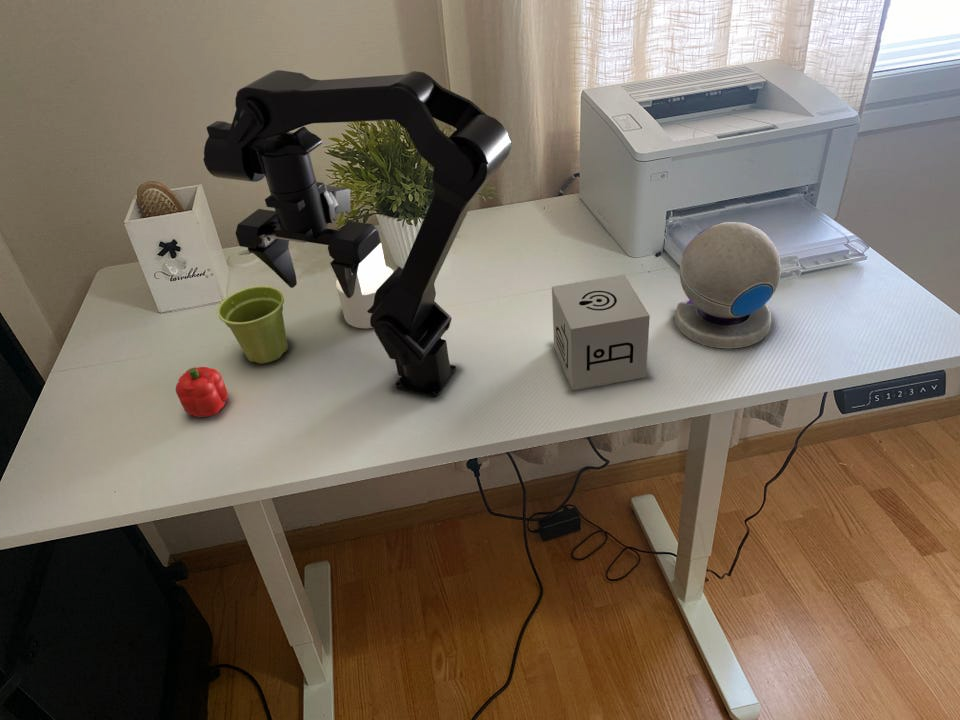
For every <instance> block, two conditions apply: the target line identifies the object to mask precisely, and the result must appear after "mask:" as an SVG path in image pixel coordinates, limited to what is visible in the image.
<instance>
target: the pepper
mask: <svg viewBox="0 0 960 720" xmlns="http://www.w3.org/2000/svg"><path fill="white" fill-rule="evenodd" d="M175 393H176V395H177V397H178V400H179V402H180V404H181V406H182V409H183V410H184V412H185V413H187V414H188V415H190V416H195V417H198V418H204V417H212V416H215V415H216V414H218V413H219V412H220V411H221V410H222V409H223V407H224V406H225V404H226V401H227V400H228V396H229V395H228V394H229V393H228V389H227V387H226V384H225V382H224V379H223V377H222V375H221V373H220V372H219V371H218V370H216V369H215V368H211V367H208V366H197V367H191V368H189V369H187V370H186V371H185V372H184V373H183V374H182V375H181V376H180V377H179V379H178V381H177V383H176V385H175Z"/></svg>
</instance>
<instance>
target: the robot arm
mask: <svg viewBox="0 0 960 720" xmlns="http://www.w3.org/2000/svg"><path fill="white" fill-rule="evenodd" d="M435 120H437V121H439V122H442V123H444V124H447V125H449V126H452V127H453V128H454V129H455V130H454V132H452V133H451V134H450V135H449V136H448V135H446V133H444V132H443V131H442V130H441V129H440V128H439V126H438V125H437V123H436V121H435ZM382 121H385V122H386V121H396V123H398V124H399V125H400V126H401V127H403V129H405V131H406V133H407V135H408V136H409V138H410V140H411V142H412V144H413V145H414V146H415V149H416V151H417V152H418V154H419V155H420V157H422V158H423V159H424V160H425V161H426V162H427V163H429V164H430V165H431V166H432V167H433V169H432V174H431V183H432V190H433V194H432V199H431V201H430V202H429V203H430V204H429V206H428V208H427V211H426V212H425V214H424V215H425V216H424V218H423V220H422V222H421V225H420V227H419V230H418V232H417V234H416V237H415V238H414V242H413V244H412V246H411V248H410V251H409V254H408V256H407V257H406V261H405V263H404V264H403V265H404V266H403V268H402V267H400V266H398V267H397V268H395V270H393V271H394V272H393V273H392V274H391V275H390V276H389V278H388V279H387V280H386V281H385V282H384V283H383V284H382V285H381V286H380V287H379V288H378V289H377V291H376V293H375V297H374V303H373V305H372V306H371V307H370V309H369V310H368V311H367V312H368V313H371V314H372V315H371V318H370V325H371V327H373V328H372V329H373V331H374V333H375V335H376V337H377V338H378V340H379V343H380V344H381V345H382V347H383V349H384V351H385V352H386V355H387V356H388V358H389V359H390V360H394V363H395V368H396V371H397V375H398V377H399V379H397V381H396V382H395V384H394V387H395V388H396V389H398V390H402V391H406V392H410V393H414V394H418V395H421V396H426V397H430V398H437V397H439V396H440V394H441V393H442V391H443V390H444V388H445V387H446V386H447V384H448V383H449V382H450V380H451V379H452V378H453V376H454V375H455V374H456V372H457V366H456V365H454V364H451V363H450V357H449V350H448V344H447V340H446V339H443V338H442V337H443V336H444V334H445V333H446V332H447V331H448V330H449V329H450V326H451V323H452V316H451V315H450V314H449V313H447V311H446V310H445V309H444V308H442V307H441V306H440V304H438V303H437V302H436V301H435V300H436V295H437V292H436V287H435V283H436V279H437V278H438V275H439V273H440V271H441V269H442V267H443V265H444V263H445V261H446V259H447V257H448V254H449V253H450V250H451V248H452V246H453V244H454V242H455V239H456V237H457V236H458V233H459V231H460V229H461V227H462V224H463V222H464V220H465V218H466V216H467V214H468V212H469V210H470V207H471V205H473V204H472V203H473V202H474V200H475V198H476V197H478V195H479V193H480V192H481V191H482V190H483V188H484V187H485V186H486V185H487V184H488V183H489V181H490V180H491V179H492V178H493V176H494V175H495V173H496V172H497V171H499V168H500V167H501V166H502V164H503V163H504V162H505V161H506V159H507V158H508V157H509V155H510V153H511V150H512V139H511V138H510V135H509V133H508V131H507V129H506V128H505V126H504V125H503V123H502V122H500V121H499V120H498V119H497V118H495V117H493V116H490V115H488V114H487V113H485V111H483V110H482V108H480V107H479V106H478V105H477V104H476V103H474V102H473V101H472V100H470V99H468V98H466V97H464V96H462V95H460V94H458V93H456V92H454V91H452V90H449V89H447V88H445V87H443V86H442V85H441V84H439V82H437V81H436V80H435V79H434V78H433V77H431V76H430V75H429V74H428V73H425V72H424V71H416V70H413V71H409V72H407V73H403V74H392V75H391V74H389V75H378V76H377V75H376V76H375V75H374V76H362V77H361V76H360V77H359V76H358V77H347V78H333V79H316V78H311V77H309V76H307V75H306V74H304V73H302V72H295V71H289V70H281V69H277V70H274V71H273V70H272V71H271V72H268V73H267V74H265V75H264V76H261V77H260V78H258V79H256V80H254V81H252V82H250V83H248V84H247V85H245V86H243V87H241V88H240V89H238V90H237V91H236V96H235V112H234V115H233V119H232V123H230V122H227V121H223V120H216V121H215V122H212V123H211V124H209V125H207V126H206V131H207V134H208V137H207V138H206V141H205V143H204V146H203V163H204V166H205V168H206V170H207V172H208V173H209V174H210V175H212V176H213V177H215V178H219V179H227V180H236V181H245V182H252V183H257V182H260V181H262V180H264V178H265V180H266V183H267V187H268V190H269V193H270V194H269V196H267V197H266V198H265V199H264V202H265V206H266V208H273V209H274V210H270V209H263V208H258V209H256V210H255V211H253V212H252V213H251V214H249V215H248V216H247V217H245V218H244V219H243V220H241V221H240V222H238V224H236V228H235V238H236V240H237V243H238V245H239V247H241V248H247V251H248V252H249V253H251V254H254V255H255V256H256V257H257V258H258V259H259V260H260V261H261V262H263V263H264V264H265V265H266V266H268V268H270V269H271V270H272V271H273V272H274V273H275V275H277V276H278V277H279V278H280V279H281V280H282V282H284V283H285V284H286V285H287V286H288V287H289V288H290V289H291V288H292V289H293V288H295V287H296V286H297V285H298V282H297V275H296V274H297V273H296V270H295V267H294V264H293V260H292V255H291V251H290V248H289V244H290V241H291V242H296V243H311V244H318V245H325V246H327V251H328V255H329V256H330V258H332V259H333V260H332V261H330V266H331V269H332V271H333V273H334V275H335V278H336V280H337V279H338V281H339V283H340V286H341V288H342V290H343V292H344V293H345V295H346V297H347V298H351V297H352V296H353V294H354V290H355V283H356V277H357V271H358V266H359V263H361V262H362V261H363V260H364V259H365V258H366V257H367V256H368V255H369V254H370V253H371V252H372V251H373V250H374V249H375V248H376V247H377V246H378V245H379V244H380V243H381V244H382V241H381V235H380V231H379V229H378V227H377V226H376V225H374V224H373V223H366V222H359V221H352V220H349V221H347V222H346V223H345V224H344V225H343V226H342V227H340V229H333V228H328V225H329V224H333V223H335V222H336V221H337V220H338V216H337V215H339V214H344V213H345V214H350V213H351V211H352V210H351V207H352V205H351V188H350V187H345V186H335V185H326V184H325V183H324V182H321V181H319V182H318V181H317V178H316V176H315V175H316V174H315V170H314V167H313V162H312V158H311V155H310V153H311V152H313V151H314V150H315V149H317V148H318V147H320V146H321V145H322V144H323V139H322V138H321V137H319V136H318V135H317V134H315V133H313V132H312V131H310V130H309V129H308V128H307V127H306V126H308V125H311V124H312V125H313V124H330V123H331V124H332V123H357V122H358V123H359V122H382ZM296 129H297V130H296ZM295 130H296V131H295ZM293 131H294V132H293Z"/></svg>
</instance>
